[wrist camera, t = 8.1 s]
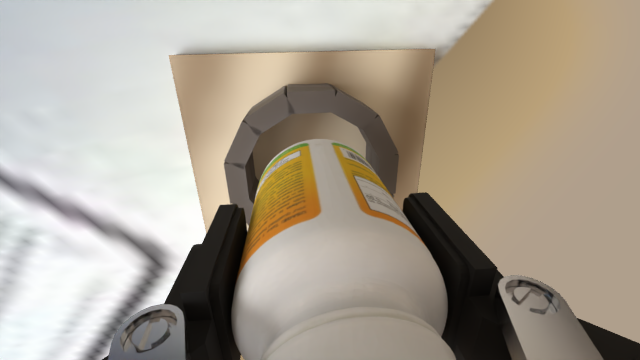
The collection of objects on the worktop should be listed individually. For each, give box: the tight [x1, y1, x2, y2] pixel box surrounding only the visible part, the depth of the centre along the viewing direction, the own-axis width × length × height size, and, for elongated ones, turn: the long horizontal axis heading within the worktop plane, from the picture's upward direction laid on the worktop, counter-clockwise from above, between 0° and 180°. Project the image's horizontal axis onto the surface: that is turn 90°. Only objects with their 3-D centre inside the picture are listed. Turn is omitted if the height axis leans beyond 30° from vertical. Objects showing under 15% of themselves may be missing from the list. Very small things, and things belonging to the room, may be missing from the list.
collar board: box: [169, 49, 435, 233], centre depth 17 cm, size 14×12×4 cm
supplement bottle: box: [231, 139, 456, 360], centre depth 9 cm, size 5×5×10 cm
